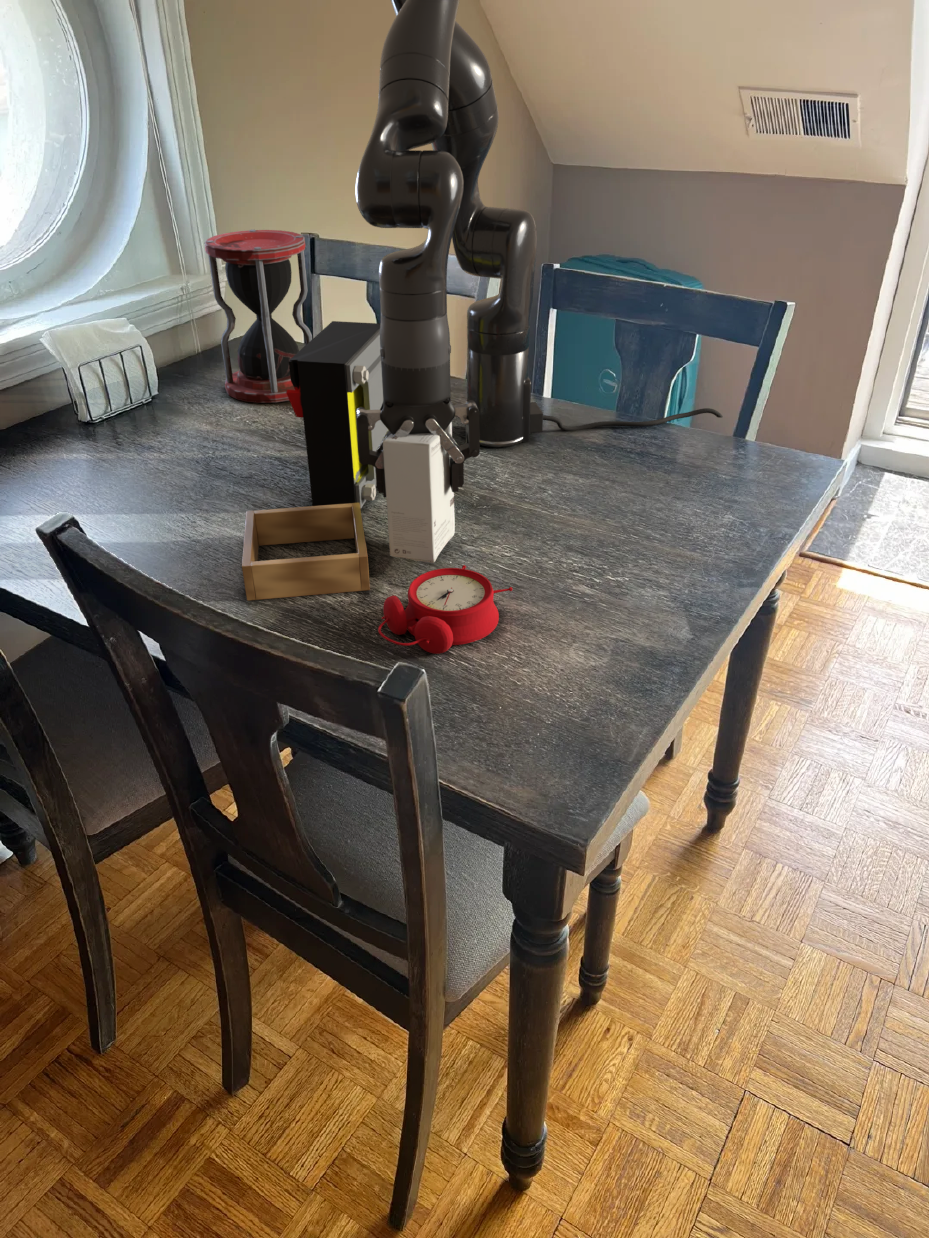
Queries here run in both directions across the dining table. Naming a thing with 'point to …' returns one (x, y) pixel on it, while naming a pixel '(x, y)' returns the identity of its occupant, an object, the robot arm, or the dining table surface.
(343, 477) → the electrical component
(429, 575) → the alarm clock
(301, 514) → the wooden frame
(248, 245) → the hourglass
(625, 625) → the dining table surface
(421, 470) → the cosmetic box
